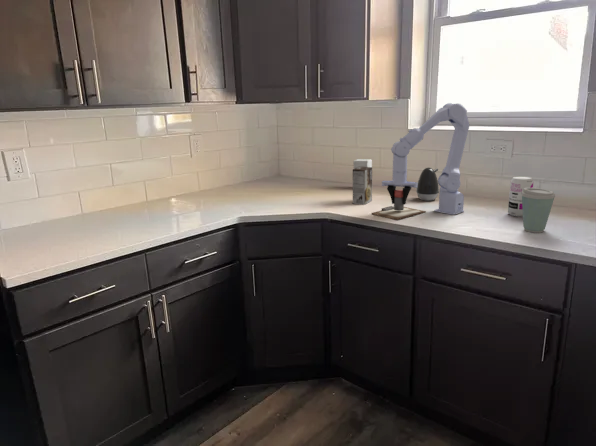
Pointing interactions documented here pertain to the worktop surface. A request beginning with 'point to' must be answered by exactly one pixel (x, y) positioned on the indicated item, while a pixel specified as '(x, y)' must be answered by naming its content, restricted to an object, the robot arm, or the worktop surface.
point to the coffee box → (362, 185)
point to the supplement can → (518, 194)
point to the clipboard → (397, 213)
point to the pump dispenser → (428, 185)
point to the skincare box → (362, 163)
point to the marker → (398, 200)
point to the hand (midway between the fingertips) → (398, 203)
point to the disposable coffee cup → (536, 208)
